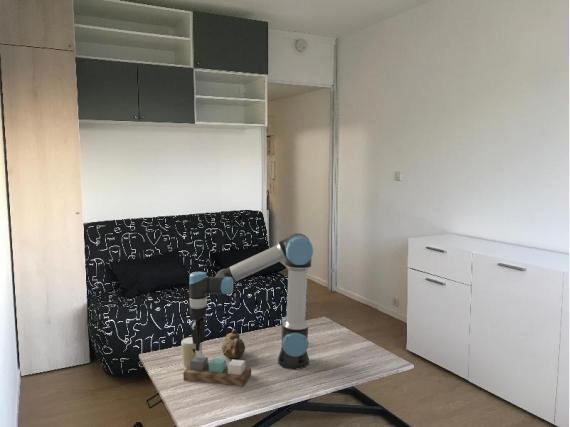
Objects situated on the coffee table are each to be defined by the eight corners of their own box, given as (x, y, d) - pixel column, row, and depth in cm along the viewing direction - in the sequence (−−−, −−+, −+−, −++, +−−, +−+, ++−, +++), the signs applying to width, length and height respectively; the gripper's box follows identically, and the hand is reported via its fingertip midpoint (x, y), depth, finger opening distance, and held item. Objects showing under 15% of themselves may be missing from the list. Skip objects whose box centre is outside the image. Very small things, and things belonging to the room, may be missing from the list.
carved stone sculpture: (218, 352, 243) (218, 323, 242) (240, 349, 247) (240, 321, 245) (226, 368, 223) (226, 338, 222) (250, 365, 227) (250, 335, 225)
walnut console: (251, 375, 216) (251, 366, 216) (242, 387, 205) (242, 378, 204) (194, 369, 223) (194, 361, 222) (183, 380, 211) (183, 371, 211)
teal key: (226, 369, 216) (226, 358, 215) (221, 374, 210) (221, 364, 209) (214, 368, 217) (213, 357, 216) (208, 373, 211) (208, 362, 211)
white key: (244, 371, 213) (244, 360, 213) (240, 377, 208) (240, 366, 207) (232, 370, 215) (232, 359, 214) (227, 375, 209) (227, 364, 209)
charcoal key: (207, 367, 218) (207, 356, 217) (202, 372, 212) (202, 362, 211) (195, 366, 219) (195, 355, 219) (190, 371, 213) (190, 360, 213)
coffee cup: (196, 369, 223) (196, 344, 222) (178, 367, 225) (177, 343, 224) (204, 361, 232) (203, 337, 231) (186, 359, 234) (185, 336, 233)
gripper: (196, 301, 220) (197, 350, 222) (184, 309, 207) (185, 361, 209) (211, 302, 218) (212, 352, 220) (200, 311, 205) (200, 363, 208)
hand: (198, 356), depth 215 cm, fingers closed
